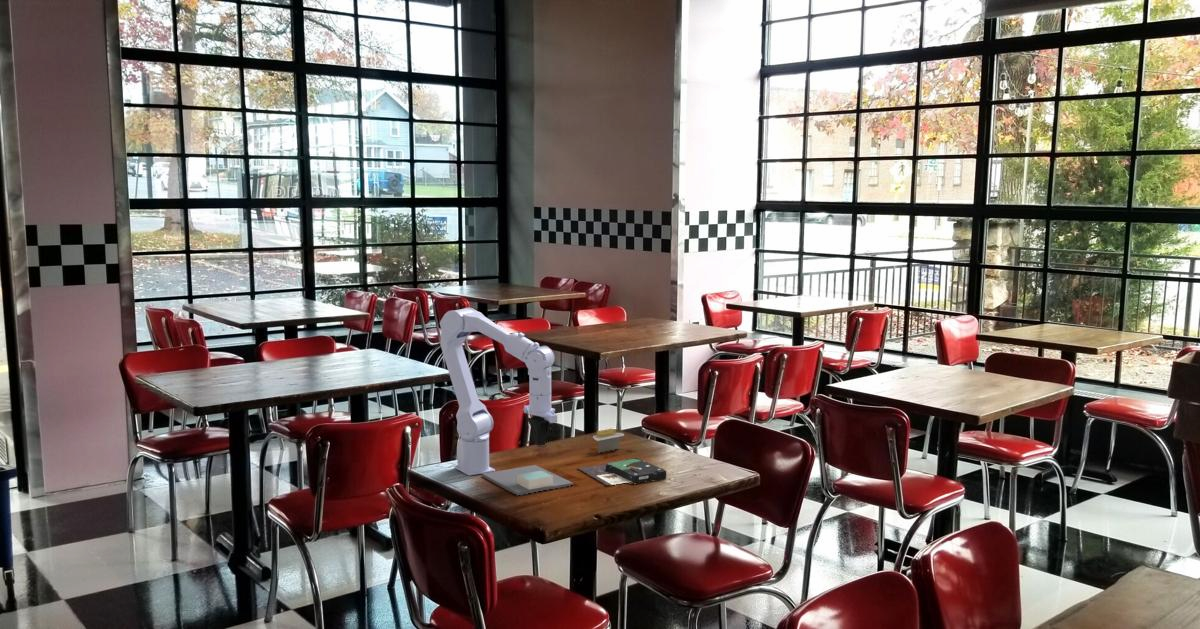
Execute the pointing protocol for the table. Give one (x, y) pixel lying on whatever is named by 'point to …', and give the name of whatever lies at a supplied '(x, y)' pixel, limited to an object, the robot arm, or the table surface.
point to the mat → (510, 479)
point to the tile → (535, 480)
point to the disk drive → (636, 470)
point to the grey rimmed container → (608, 440)
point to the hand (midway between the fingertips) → (540, 444)
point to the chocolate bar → (603, 475)
